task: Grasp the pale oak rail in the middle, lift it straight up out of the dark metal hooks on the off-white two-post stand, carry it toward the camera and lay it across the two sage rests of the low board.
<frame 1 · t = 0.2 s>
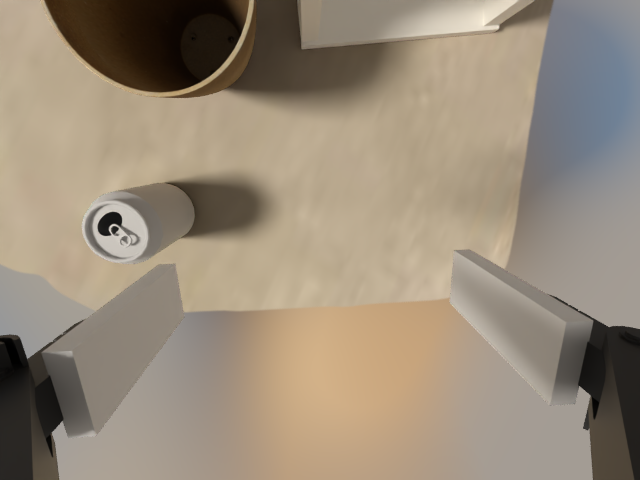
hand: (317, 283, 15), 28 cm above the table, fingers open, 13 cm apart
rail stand: (397, 7, 36), on the table
plant pot: (212, 52, 37), on the table
can: (168, 210, 41), on the table
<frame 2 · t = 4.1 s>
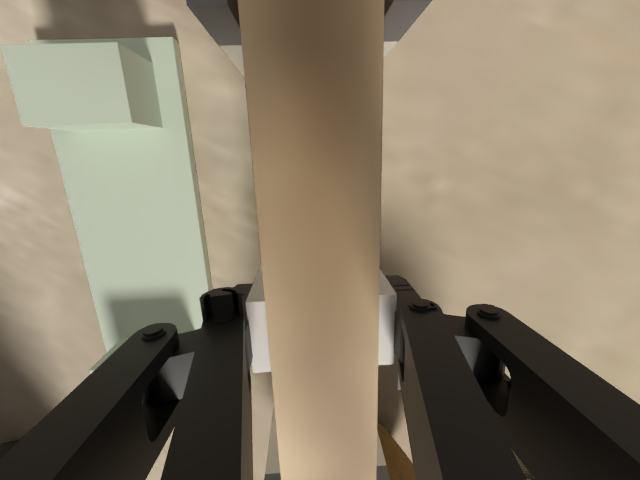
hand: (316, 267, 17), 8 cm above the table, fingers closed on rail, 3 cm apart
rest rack: (147, 238, 24), on the table
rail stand: (312, 231, 25), on the table
plant pot: (351, 443, 31), on the table
rail: (319, 297, 13), point 12 cm above the table, touching gripper, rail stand
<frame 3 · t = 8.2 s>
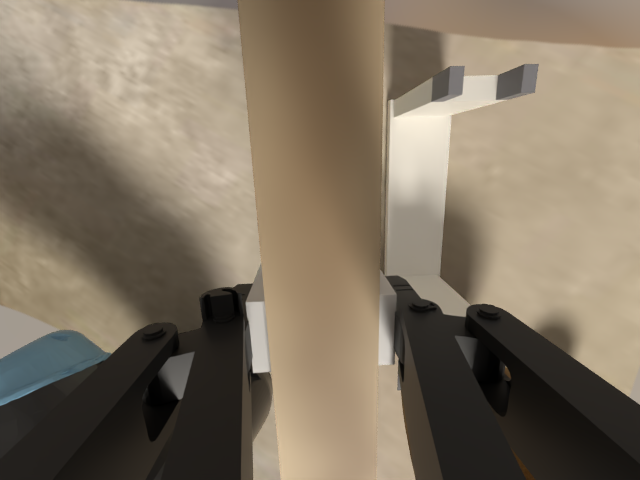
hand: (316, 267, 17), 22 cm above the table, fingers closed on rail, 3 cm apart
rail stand: (413, 200, 39), on the table
plant pot: (426, 351, 45), on the table
rail: (319, 297, 13), point 26 cm above the table, touching gripper
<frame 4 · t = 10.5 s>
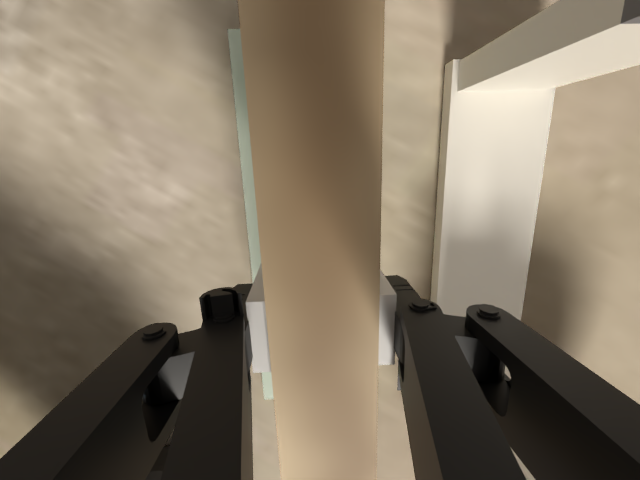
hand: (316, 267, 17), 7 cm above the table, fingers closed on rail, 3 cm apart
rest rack: (310, 237, 24), on the table
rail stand: (479, 229, 24), on the table
rail: (319, 296, 13), point 11 cm above the table, touching gripper
when the fingers open (3 cm above the table, at t = 12.4 s): rail drops 1 cm, resting on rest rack.
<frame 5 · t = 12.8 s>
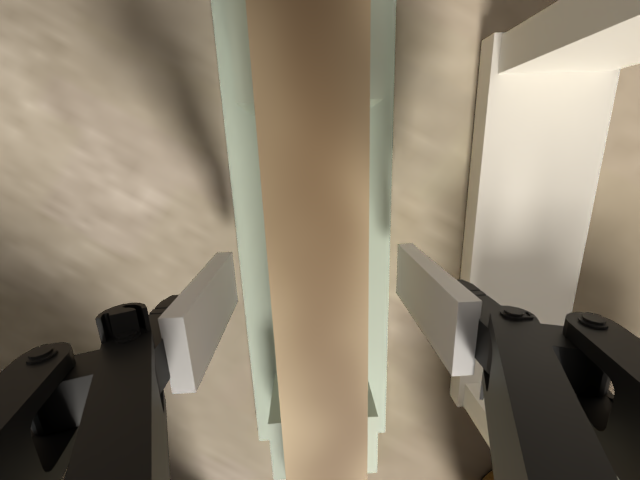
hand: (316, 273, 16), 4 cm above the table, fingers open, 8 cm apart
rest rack: (314, 251, 20), on the table
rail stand: (516, 242, 20), on the table
rail: (317, 283, 15), point 5 cm above the table, touching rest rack
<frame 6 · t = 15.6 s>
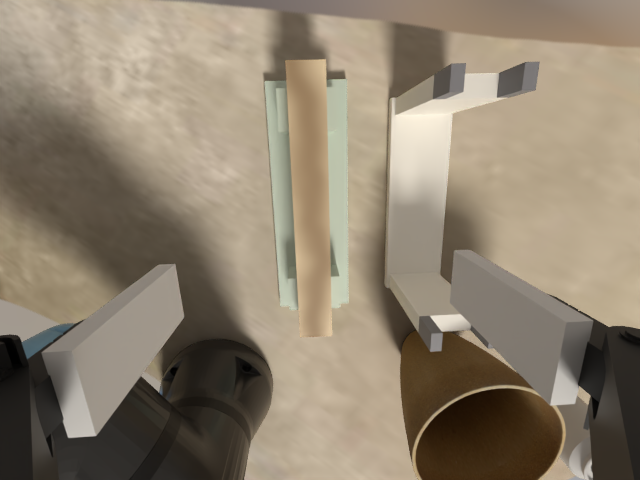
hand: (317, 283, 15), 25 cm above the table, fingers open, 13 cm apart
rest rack: (310, 201, 39), on the table
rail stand: (414, 198, 39), on the table
plant pot: (426, 348, 45), on the table
rail: (310, 208, 34), point 5 cm above the table, touching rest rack
can: (537, 393, 48), on the table
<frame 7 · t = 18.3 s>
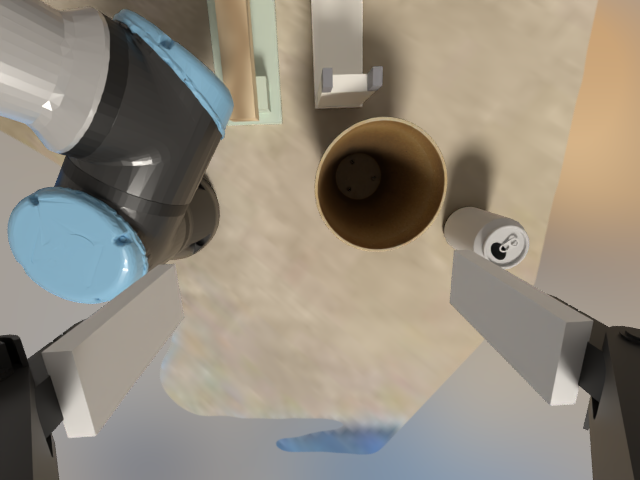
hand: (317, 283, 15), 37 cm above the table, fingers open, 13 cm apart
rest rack: (243, 22, 43), on the table
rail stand: (336, 20, 44), on the table
plant pot: (357, 177, 50), on the table
rail: (235, 5, 39), point 5 cm above the table, touching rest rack
can: (462, 227, 53), on the table
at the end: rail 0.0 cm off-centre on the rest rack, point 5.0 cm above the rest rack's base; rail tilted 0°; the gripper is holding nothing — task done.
